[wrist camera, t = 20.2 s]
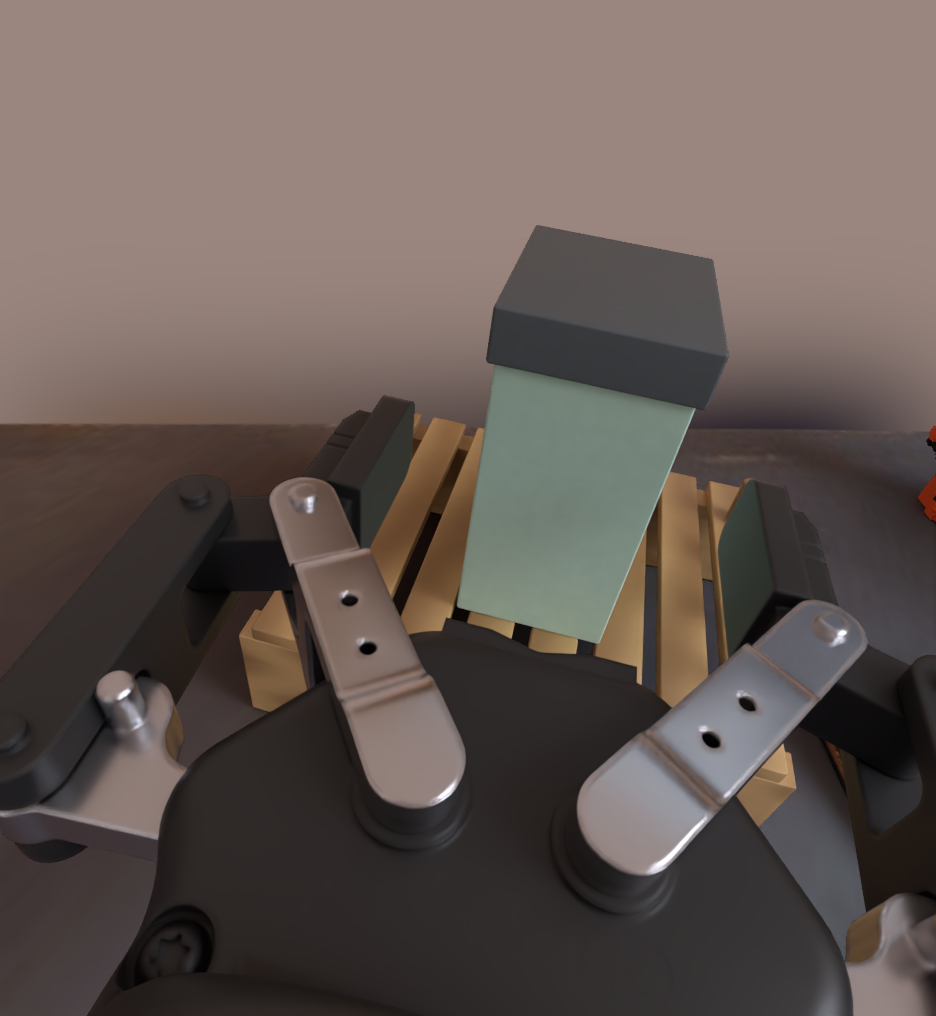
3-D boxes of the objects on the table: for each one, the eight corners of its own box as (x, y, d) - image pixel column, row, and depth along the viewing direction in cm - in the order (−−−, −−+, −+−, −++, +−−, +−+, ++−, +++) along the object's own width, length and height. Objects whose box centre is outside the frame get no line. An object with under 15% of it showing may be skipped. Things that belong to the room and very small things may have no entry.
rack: (252, 707, 24) (226, 582, 19) (378, 483, 34) (381, 367, 30) (739, 847, 22) (840, 746, 17) (715, 565, 32) (774, 455, 28)
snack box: (449, 610, 22) (493, 305, 15) (488, 496, 27) (535, 223, 19) (604, 651, 21) (730, 355, 14) (615, 527, 26) (714, 258, 19)
